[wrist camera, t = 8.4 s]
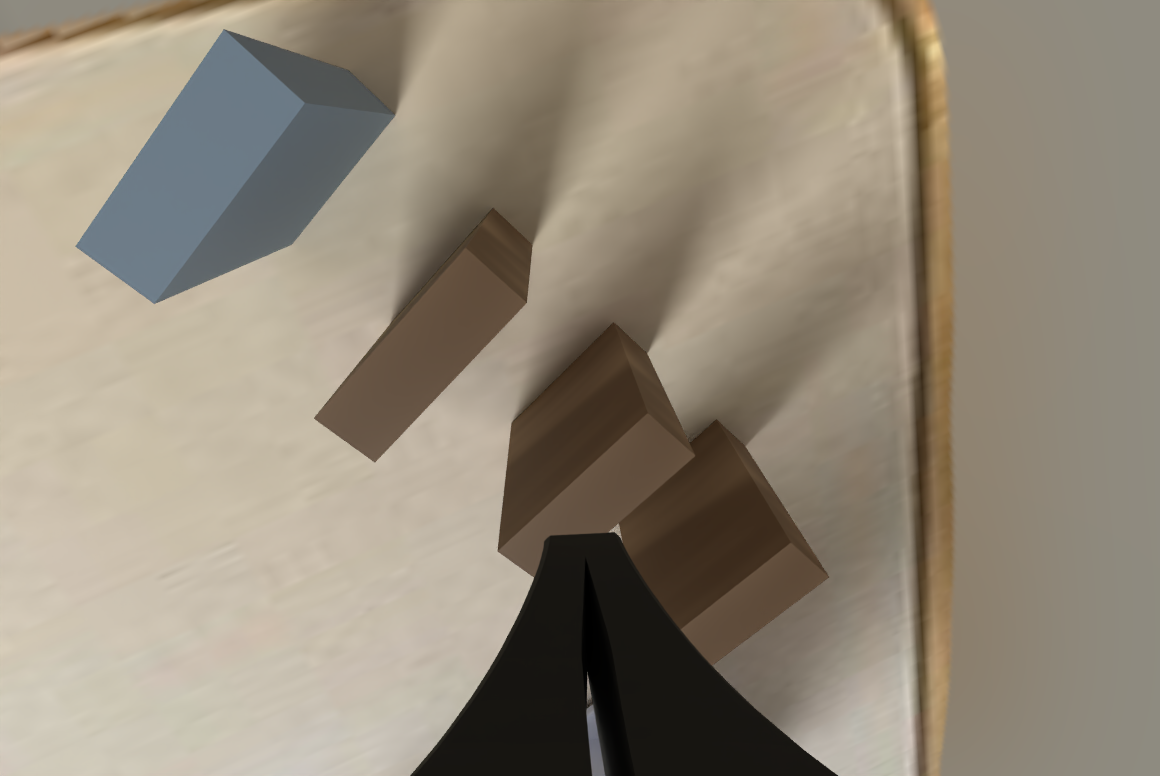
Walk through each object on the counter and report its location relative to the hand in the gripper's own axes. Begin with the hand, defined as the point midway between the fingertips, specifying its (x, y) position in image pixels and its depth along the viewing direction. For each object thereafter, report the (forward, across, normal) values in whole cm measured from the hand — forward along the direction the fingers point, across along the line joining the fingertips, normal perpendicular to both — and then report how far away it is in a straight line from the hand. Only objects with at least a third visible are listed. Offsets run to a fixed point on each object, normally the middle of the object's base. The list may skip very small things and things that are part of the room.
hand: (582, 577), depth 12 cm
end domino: (+10, +7, -7) cm, 14 cm away
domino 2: (+10, 0, 0) cm, 10 cm away
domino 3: (+10, -4, +4) cm, 11 cm away
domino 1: (+10, +3, -4) cm, 11 cm away
